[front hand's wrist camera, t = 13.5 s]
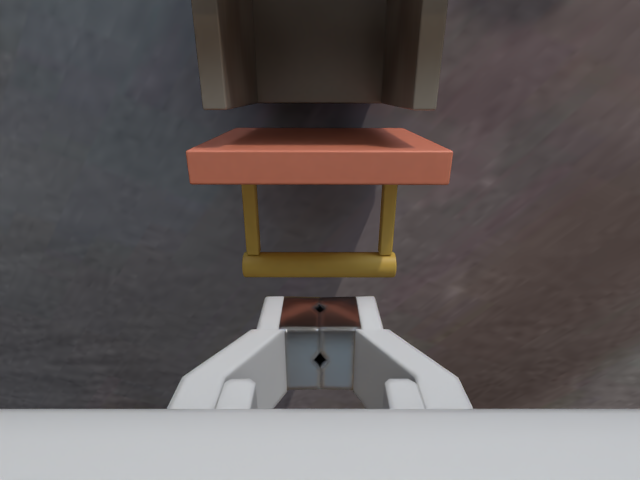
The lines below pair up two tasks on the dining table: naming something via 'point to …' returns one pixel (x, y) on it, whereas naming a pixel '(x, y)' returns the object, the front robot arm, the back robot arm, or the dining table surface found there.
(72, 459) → the front robot arm
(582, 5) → the dining table surface
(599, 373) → the dining table surface
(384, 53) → the drawer
